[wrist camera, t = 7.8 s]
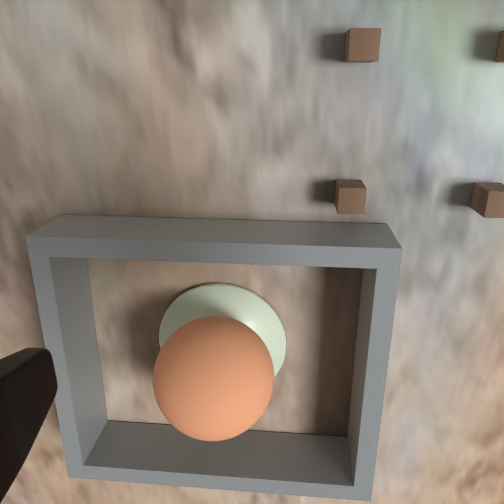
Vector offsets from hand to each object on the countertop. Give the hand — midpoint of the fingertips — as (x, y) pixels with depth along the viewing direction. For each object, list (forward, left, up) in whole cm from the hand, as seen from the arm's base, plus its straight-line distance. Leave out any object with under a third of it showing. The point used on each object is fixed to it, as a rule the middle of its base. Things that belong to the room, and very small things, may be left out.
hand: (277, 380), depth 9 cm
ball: (+3, +6, -11) cm, 13 cm away
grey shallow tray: (+3, +6, -11) cm, 13 cm away
